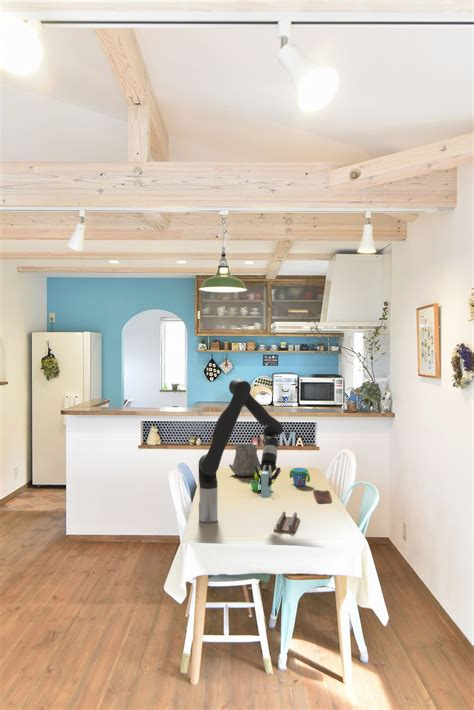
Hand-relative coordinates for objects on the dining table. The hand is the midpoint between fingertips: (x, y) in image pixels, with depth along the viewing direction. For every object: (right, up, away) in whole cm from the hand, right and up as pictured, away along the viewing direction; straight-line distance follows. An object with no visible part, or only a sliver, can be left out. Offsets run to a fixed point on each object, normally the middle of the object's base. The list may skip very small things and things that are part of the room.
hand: (265, 485), depth 268 cm
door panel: (0, -6, +1) cm, 6 cm away
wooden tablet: (+36, -20, +50) cm, 65 cm away
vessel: (-9, -18, +103) cm, 105 cm away
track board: (+11, -20, +1) cm, 23 cm away
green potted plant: (0, -19, +67) cm, 70 cm away
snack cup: (+26, -19, +77) cm, 83 cm away
